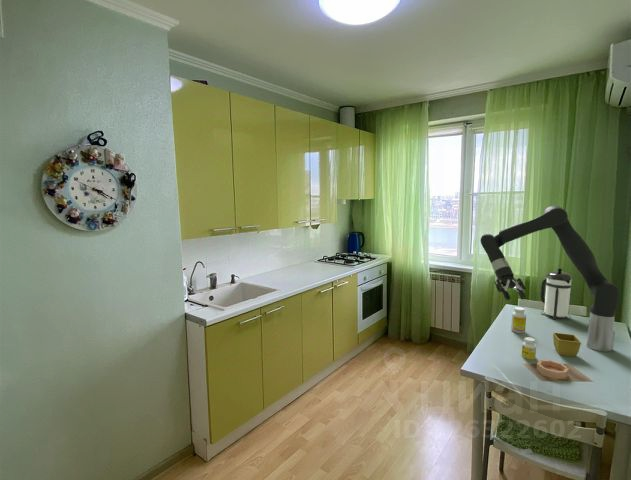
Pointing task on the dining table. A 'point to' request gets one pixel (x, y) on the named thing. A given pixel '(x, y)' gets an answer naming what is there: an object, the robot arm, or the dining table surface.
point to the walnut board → (572, 376)
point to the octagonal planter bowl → (552, 369)
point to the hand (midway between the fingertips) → (516, 299)
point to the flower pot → (566, 344)
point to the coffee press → (556, 293)
